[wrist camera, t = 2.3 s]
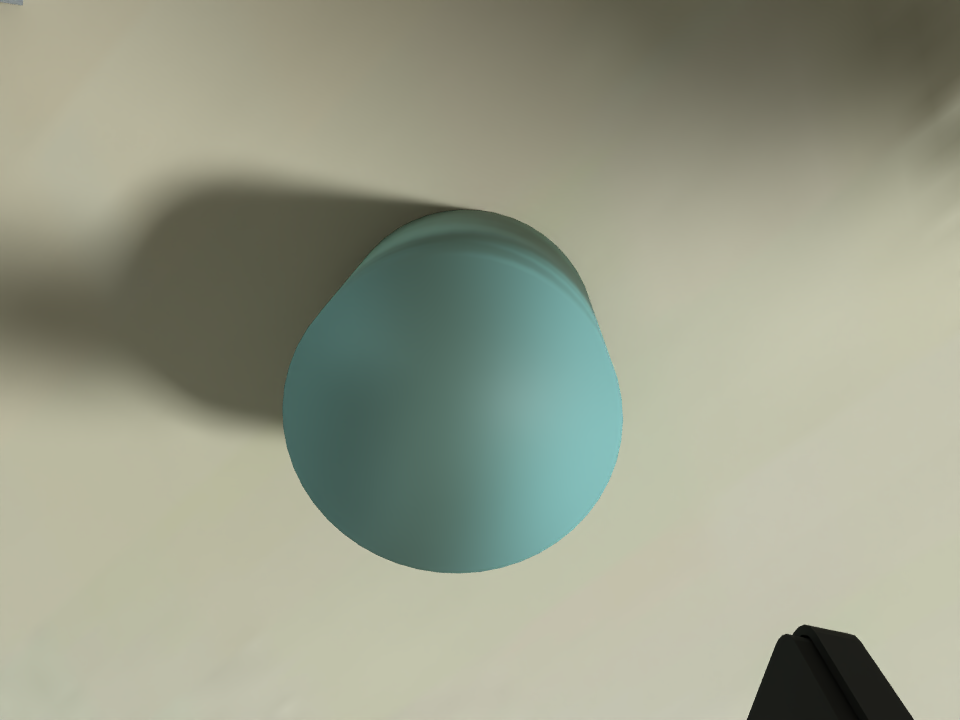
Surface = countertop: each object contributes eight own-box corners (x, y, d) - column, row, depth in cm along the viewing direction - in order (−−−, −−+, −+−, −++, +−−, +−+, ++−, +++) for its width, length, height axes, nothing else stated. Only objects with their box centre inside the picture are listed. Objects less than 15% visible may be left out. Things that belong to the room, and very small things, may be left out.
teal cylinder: (624, 243, 20) (665, 301, 14) (558, 476, 22) (573, 603, 16) (366, 182, 19) (312, 219, 14) (322, 423, 21) (259, 534, 16)
